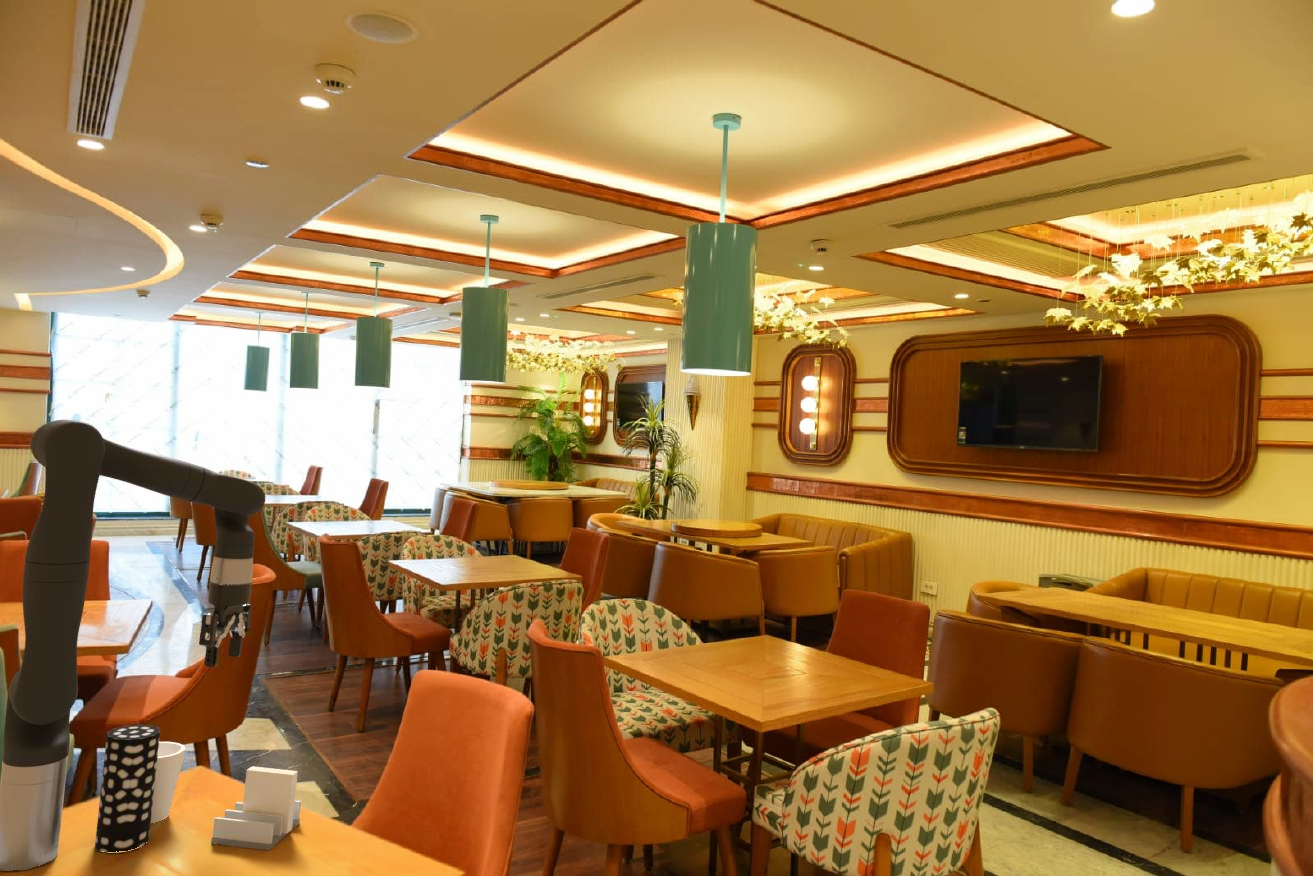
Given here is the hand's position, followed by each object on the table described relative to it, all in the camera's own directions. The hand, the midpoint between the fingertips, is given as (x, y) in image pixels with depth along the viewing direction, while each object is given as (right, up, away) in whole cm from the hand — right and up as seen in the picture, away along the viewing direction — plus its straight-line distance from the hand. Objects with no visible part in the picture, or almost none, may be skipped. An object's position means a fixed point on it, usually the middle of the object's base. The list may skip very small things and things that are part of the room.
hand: (222, 661), depth 170 cm
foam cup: (-12, -29, -4) cm, 32 cm away
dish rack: (+10, -31, -7) cm, 33 cm away
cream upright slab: (+12, -30, -7) cm, 33 cm away
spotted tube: (-10, -29, -16) cm, 35 cm away
